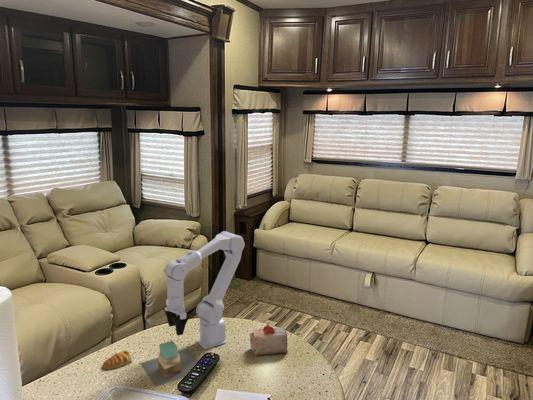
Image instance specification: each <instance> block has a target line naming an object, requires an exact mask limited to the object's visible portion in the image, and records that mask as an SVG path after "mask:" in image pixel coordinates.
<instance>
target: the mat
mask: <svg viewBox="0 0 533 400" xmlns="http://www.w3.org/2000/svg"><path fill="white" fill-rule="evenodd" d="M178 354H179V355H180V363H181V372H180V373H177V374H174V375H171V376H169V377H166V378H164V377H163V375H162V374H161V372H160V371H159V370H158V361H159V356H158V357H155V358H152V359H149V360H145V361H143V362H140V365H141V367H142V368H143V369H144V371H145V373H146V374H147V376H148V377H149V379H150V380H151V382H152V384H153V385H154V387H156V388H157V387H159V386H163V385H165V384H168V383H171V382H174V381H177V380H180V379H182V378H186V377H187V376H186V375H187V374H188V372H190V370H191V369H192V368H193V367H194V366H195V364H196V363H197V362H198V361H200V360H199V359H198V357H196V356H195V354H194V353H193V352H192V351H191V350H190V348H184V349H181V350H178ZM185 376H186V377H185Z"/></svg>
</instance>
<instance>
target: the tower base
mask: <svg viewBox="0 0 533 400" xmlns="http://www.w3.org/2000/svg"><path fill="white" fill-rule="evenodd" d="M158 370H159V371H160V372H161V374H162V375H163V377H164V378H166V377H169V376H171V375H174V374H177V373H180V372H181V363H180V364H179V365H176V366H172V367H169V368H166V369H164V368H163V366H162V365H161V363H160V362H159V361H158Z"/></svg>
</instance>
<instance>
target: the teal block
mask: <svg viewBox="0 0 533 400" xmlns="http://www.w3.org/2000/svg"><path fill="white" fill-rule="evenodd" d="M178 351H179V350H178V345H177V344H176V343H175V342H174V340H169V341H166V342H163V343H160V344H159V353H160V354H161V356H162V357H163V358H164V360H166V359H169V358H173V357H176V356H178Z"/></svg>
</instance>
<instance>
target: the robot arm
mask: <svg viewBox="0 0 533 400" xmlns="http://www.w3.org/2000/svg"><path fill="white" fill-rule="evenodd" d="M245 245H246V244H245V241H244V238H243V236H241V235H239V234H234V233H232V232H228V231H226V230H223V231H221V232H220V233H218V234H216V235H215V237H214V238H213V239H211V241H209V242H208V243H206V244H205V245H203V246H202V247H201V248H199V249H198V250H188V251H187V253H186V254H184V255H182V256H181V257H178V258H176V260H170V261H169V262H168V263H166V265H165V268H164V269H163V273H164V274H165V276H166V281H167V282H166V284H167V285H166V287H167V288H166V289H167V293H166V294H167V298H166V299H165V305H166V306H164V307H163V308H162V310H163V312H164V314H165V316H166V320H167V323H168V326H169V328H170V327H171V328H172V327H174V326H175V332H176V335H177V336H181V335H184V334H185V333H184V331H185V327H186V325H187V323H188V321H189V320H190V315H188V314H187V312H186V310H185V309H186V308H185V307H186V306H185V303H184V302H185V298H184V297H185V295H184V294H185V292H184V291H185V290H184V289H185V288H184V286H185V284H184V283H185V278H186V276H187V274H188V273H189V272H190V271H191V270H193V269H194V268H196V267H197V266H199V265H200V264H202V261H203V259H204V258H206V257H208V256H210V255H212V254H213V253H215V252H217V251H219V250H221V251H223V252H224V256H225V260H224V261H223V264H222V266H221V267H220V270H219V272H218V274H217V277H216V278H215V281H214V283H213V285H212V288H211V290H210V292H209V294H208V295H206V296H203V298H202V300H201V301H200V302H199V303H198V304H197V306H196V309H195V313H196V315H197V317H198V319H199V338H197V339H195V340H196V343H198V344H199V345H200V346H201V347H202V348H203V349H204V350H207V349H210V348H213V347H217V346H220V345H224V344H226V343H227V340H226V323H225V320H224V318H223V311H224V310H225V305H224V303H223V302H224V301H223V300H224V297H225V295H226V292H227V290H228V289H229V286H230V284H231V281H232V279H233V277H234V275H235V272H236V270H237V268H238V266H239V263H240V262H241V259H242V252H243V250H244V248H245Z"/></svg>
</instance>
